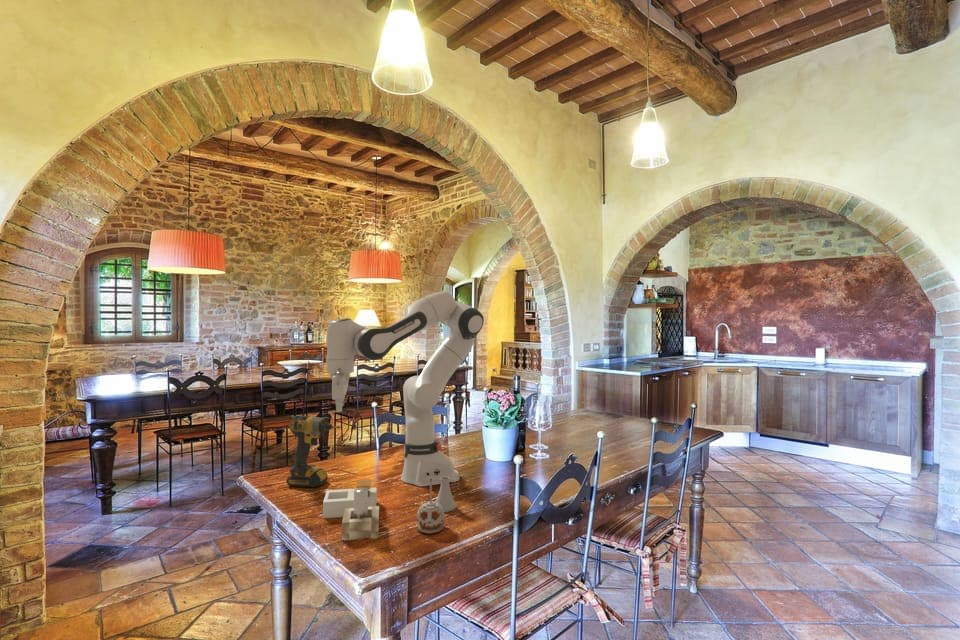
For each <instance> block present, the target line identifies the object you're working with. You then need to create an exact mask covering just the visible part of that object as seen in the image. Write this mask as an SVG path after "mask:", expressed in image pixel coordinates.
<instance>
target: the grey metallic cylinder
mask: <svg viewBox="0 0 960 640" xmlns="http://www.w3.org/2000/svg"><path fill="white" fill-rule="evenodd" d="M354 489H355V490H354V519H360V518H368V489H367V488H357V489H356V488H354Z"/></svg>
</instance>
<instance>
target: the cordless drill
mask: <svg viewBox="0 0 960 640" xmlns="http://www.w3.org/2000/svg"><path fill="white" fill-rule="evenodd" d="M334 428H336V429H341V428H342V427H341V426H334V425H333V424H332V423H329V421H328V419H326V418H322V417H318V416H310V415H299V414H298V415H294V416H292V417H290V420H289V421H288V430H289V431H290V432H291V433H292V435H294V436H296V437H297V445H296V449H295V454H294V462H293V465H292V466H291V467H290V469H289V474H290V475H289V476H287V479H286V485H288V486H290V487H291V486H293V487H303V488H304V487H305V488H317V487H322V486H323V485H325V484H326V483H327V482H328V474H327V472H326V471H325V469H323V468H322V467H320V466H319V465H318V466H317V465H315V464H308V463H307V459H308V456H309V454H310V450H311V446H317V445H318V439H320V438H322V437H323V436H324V435H325V434H326V432H327V431H328V430H332V429H334Z"/></svg>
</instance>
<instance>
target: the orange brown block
mask: <svg viewBox="0 0 960 640" xmlns="http://www.w3.org/2000/svg"><path fill="white" fill-rule="evenodd" d="M371 485H372V478H365V479H356V485H355V489H357V488H367V489H368V497H369V489H370V488H372V487H371Z"/></svg>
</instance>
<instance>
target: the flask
mask: <svg viewBox="0 0 960 640" xmlns="http://www.w3.org/2000/svg"><path fill="white" fill-rule="evenodd" d="M440 480H441V484H440V488H439V491H438V494H437V497H436V500H435V503H439V505H441V507H442V509H443V511H444V513H449V512H452V511H453V512H454V511H455V509H456V508H457V504H456V502H455V500H454V497H453V494H452V491H451V486H450V483H449V480H450V477H445V476H444V477H441V478H440Z"/></svg>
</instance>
